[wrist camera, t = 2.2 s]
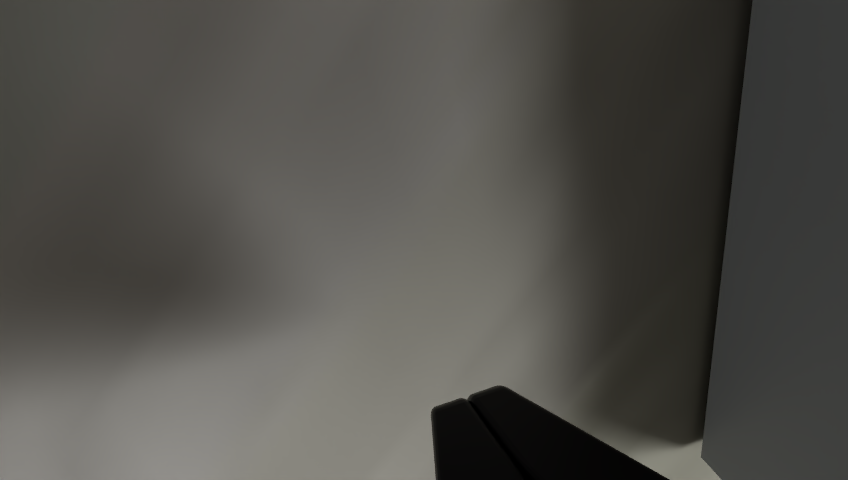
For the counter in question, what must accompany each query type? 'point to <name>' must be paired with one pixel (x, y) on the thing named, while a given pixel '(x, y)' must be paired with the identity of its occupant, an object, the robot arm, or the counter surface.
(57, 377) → the counter surface
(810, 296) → the socket block
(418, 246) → the counter surface
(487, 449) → the robot arm
